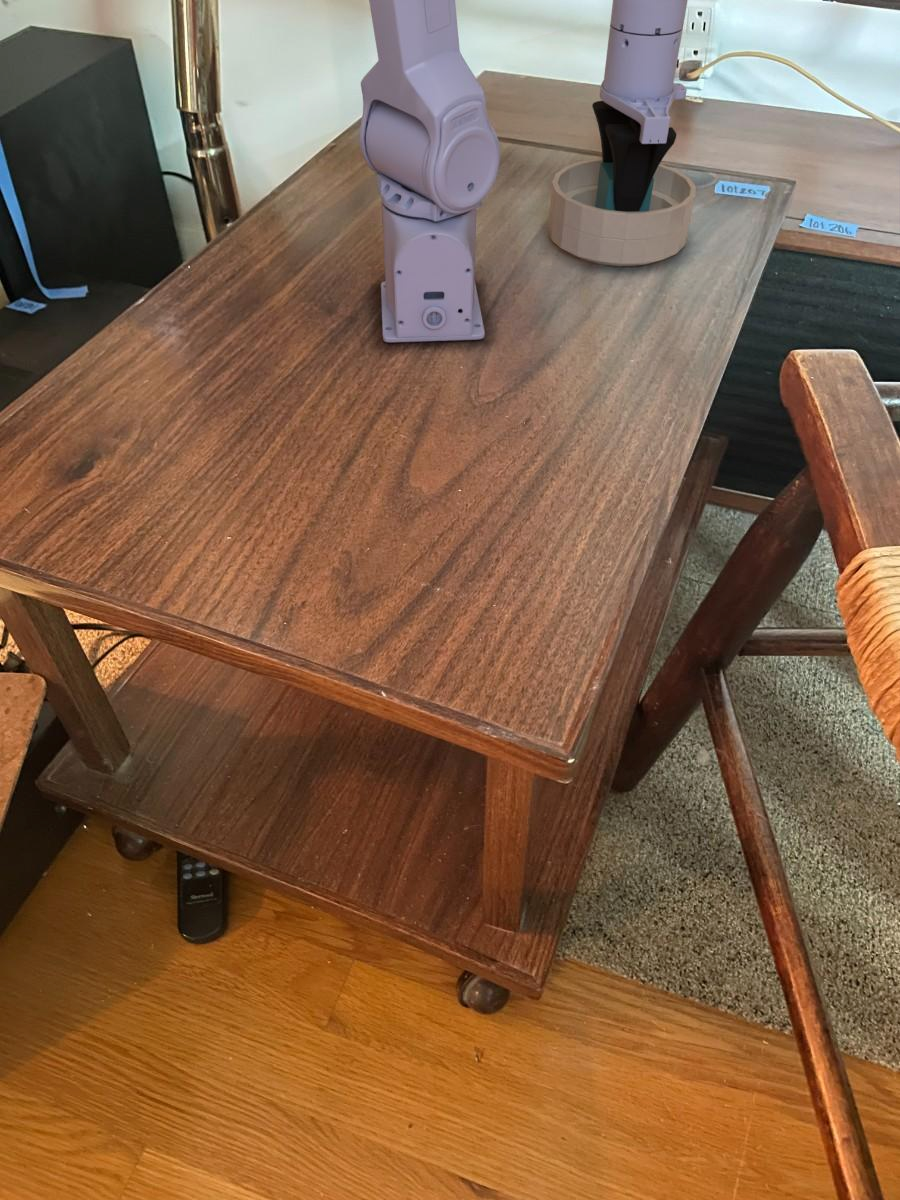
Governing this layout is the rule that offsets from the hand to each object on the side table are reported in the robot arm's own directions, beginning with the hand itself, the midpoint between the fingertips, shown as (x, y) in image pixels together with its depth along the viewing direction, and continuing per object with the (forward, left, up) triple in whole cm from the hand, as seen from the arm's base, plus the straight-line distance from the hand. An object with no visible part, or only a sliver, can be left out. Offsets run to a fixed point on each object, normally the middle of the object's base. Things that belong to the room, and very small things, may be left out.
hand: (621, 200), depth 80 cm
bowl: (0, 0, -4) cm, 4 cm away
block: (0, 0, -1) cm, 1 cm away
